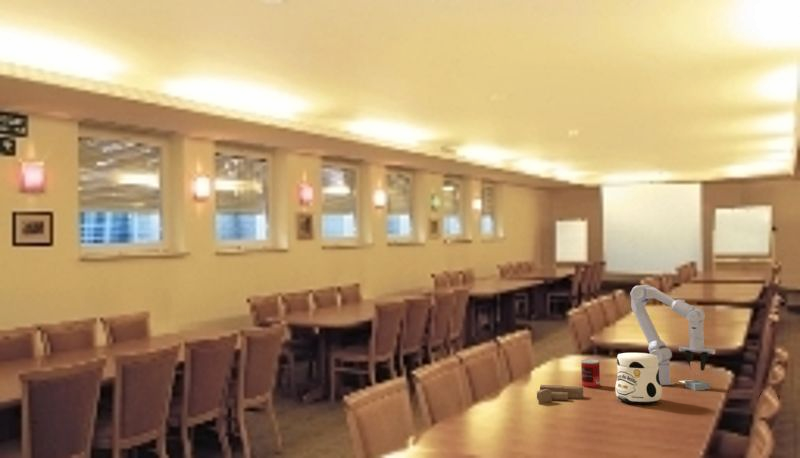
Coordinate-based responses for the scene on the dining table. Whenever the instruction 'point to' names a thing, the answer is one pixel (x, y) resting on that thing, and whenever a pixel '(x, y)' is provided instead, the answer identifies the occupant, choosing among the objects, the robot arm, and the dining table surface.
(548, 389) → the wooden block set
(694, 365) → the top brick
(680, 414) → the dining table surface
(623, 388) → the milk container
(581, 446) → the dining table surface
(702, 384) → the base brick
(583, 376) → the canned food
